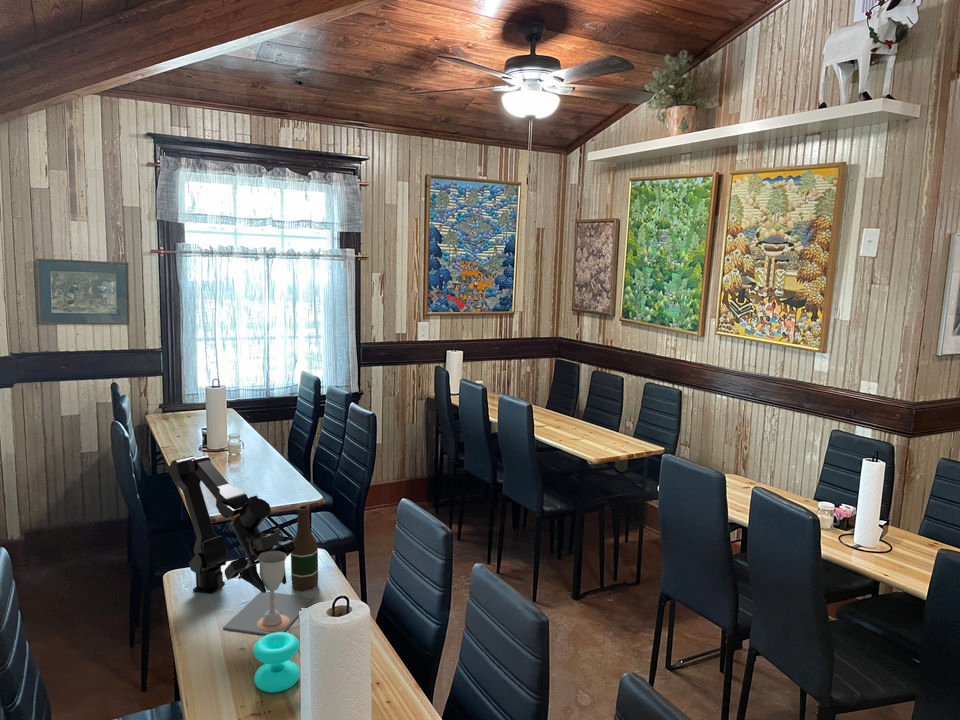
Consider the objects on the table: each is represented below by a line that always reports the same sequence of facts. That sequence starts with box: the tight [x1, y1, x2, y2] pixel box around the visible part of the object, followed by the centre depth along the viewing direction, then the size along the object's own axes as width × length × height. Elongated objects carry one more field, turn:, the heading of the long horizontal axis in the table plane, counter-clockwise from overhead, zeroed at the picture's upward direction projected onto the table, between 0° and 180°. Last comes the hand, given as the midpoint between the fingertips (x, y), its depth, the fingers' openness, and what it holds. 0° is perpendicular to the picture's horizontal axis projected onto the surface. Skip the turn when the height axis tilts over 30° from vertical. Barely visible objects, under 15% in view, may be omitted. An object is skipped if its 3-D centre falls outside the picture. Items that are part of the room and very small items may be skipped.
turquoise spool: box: [253, 631, 300, 693], centre depth 161 cm, size 10×10×10 cm
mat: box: [222, 591, 315, 636], centre depth 191 cm, size 16×20×1 cm
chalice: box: [258, 550, 288, 626], centre depth 184 cm, size 7×7×18 cm
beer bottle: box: [290, 505, 319, 592], centre depth 206 cm, size 8×8×24 cm
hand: (275, 588), depth 183 cm, fingers closed on chalice, 6 cm apart
